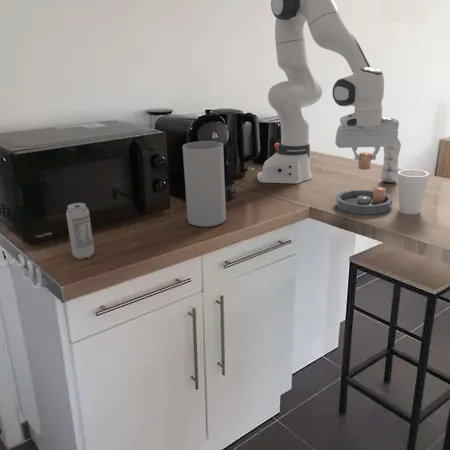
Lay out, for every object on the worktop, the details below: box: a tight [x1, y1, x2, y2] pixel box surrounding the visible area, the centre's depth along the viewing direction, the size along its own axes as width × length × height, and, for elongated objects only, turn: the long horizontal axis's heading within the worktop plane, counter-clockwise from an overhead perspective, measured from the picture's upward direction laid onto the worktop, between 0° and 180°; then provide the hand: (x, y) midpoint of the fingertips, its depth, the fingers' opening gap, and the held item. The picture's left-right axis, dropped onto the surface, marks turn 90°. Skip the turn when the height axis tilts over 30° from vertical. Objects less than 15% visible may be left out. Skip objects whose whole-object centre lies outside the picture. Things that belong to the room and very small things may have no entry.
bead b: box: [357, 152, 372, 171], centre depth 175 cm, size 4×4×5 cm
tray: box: [335, 189, 393, 216], centre depth 174 cm, size 18×18×3 cm
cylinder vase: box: [182, 140, 227, 228], centre depth 162 cm, size 12×12×25 cm
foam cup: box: [397, 168, 430, 216], centre depth 166 cm, size 10×9×13 cm
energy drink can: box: [65, 202, 95, 258], centre depth 141 cm, size 6×6×15 cm
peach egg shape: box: [372, 186, 387, 205], centre depth 173 cm, size 4×4×5 cm
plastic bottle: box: [380, 130, 402, 183], centre depth 196 cm, size 6×7×20 cm
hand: (364, 159), depth 174 cm, fingers closed on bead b, 4 cm apart
